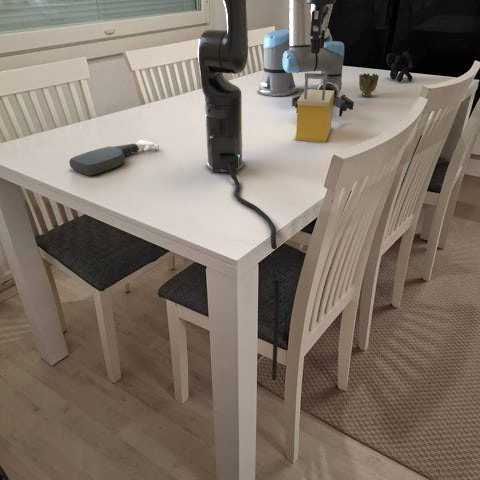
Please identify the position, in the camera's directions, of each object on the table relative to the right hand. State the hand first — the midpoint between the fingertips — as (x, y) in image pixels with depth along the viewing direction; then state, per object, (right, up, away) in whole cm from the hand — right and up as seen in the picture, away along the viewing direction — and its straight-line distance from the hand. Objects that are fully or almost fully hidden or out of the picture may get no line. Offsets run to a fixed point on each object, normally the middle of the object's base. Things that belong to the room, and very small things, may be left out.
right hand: (318, 110), depth 141 cm
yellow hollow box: (-2, -8, -1) cm, 8 cm away
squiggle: (+47, +31, +59) cm, 82 cm away
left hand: (-4, +11, -18) cm, 22 cm away
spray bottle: (-59, -19, -17) cm, 64 cm away
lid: (-2, +1, -7) cm, 7 cm away
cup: (+26, +16, +37) cm, 48 cm away
